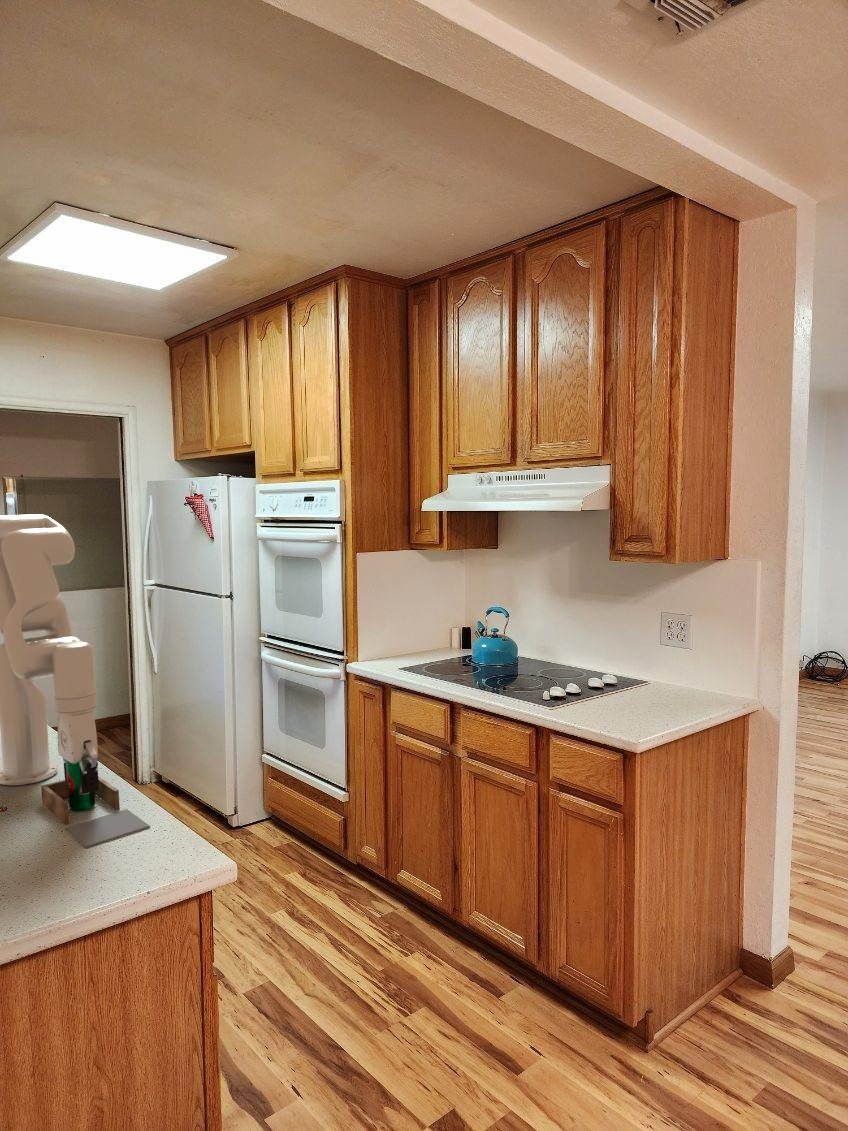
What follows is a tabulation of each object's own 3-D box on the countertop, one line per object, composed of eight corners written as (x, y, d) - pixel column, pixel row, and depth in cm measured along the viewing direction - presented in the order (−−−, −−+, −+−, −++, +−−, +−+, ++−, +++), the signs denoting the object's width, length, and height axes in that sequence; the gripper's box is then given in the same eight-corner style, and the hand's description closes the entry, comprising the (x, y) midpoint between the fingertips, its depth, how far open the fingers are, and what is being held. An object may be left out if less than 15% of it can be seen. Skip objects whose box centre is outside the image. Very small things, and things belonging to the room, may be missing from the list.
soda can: (85, 814, 153) (81, 756, 152) (63, 812, 154) (59, 755, 153) (100, 804, 158) (97, 747, 157) (79, 802, 159) (75, 746, 158)
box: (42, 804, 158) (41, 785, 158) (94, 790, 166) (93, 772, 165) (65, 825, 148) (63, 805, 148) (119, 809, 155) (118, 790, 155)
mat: (64, 829, 146) (64, 827, 146) (127, 810, 155) (126, 808, 154) (85, 848, 138) (85, 846, 138) (149, 827, 147) (149, 825, 146)
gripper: (42, 699, 158) (48, 779, 159) (71, 715, 145) (77, 802, 147) (80, 692, 163) (85, 770, 164) (111, 707, 150) (116, 791, 152)
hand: (81, 785), depth 156 cm, fingers open, 9 cm apart
